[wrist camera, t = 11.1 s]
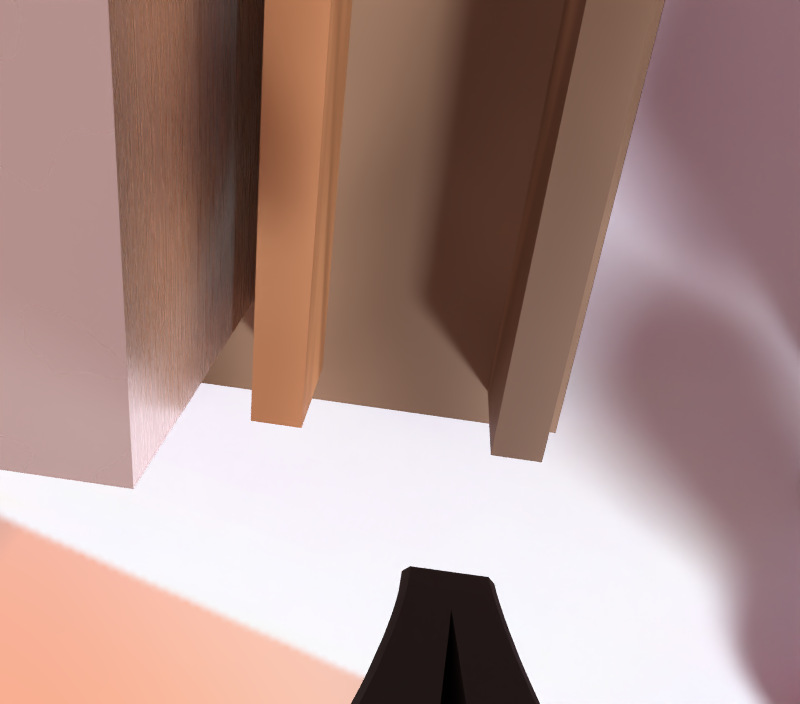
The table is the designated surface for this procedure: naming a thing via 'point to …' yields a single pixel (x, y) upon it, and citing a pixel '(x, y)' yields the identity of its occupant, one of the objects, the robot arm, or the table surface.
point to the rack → (434, 204)
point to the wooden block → (120, 221)
